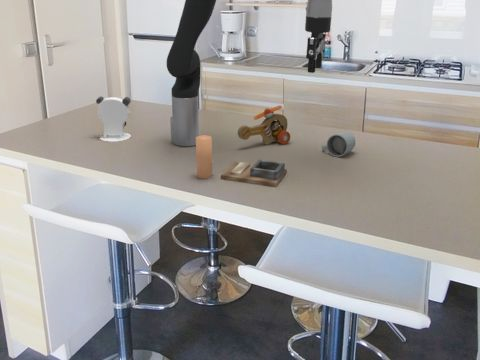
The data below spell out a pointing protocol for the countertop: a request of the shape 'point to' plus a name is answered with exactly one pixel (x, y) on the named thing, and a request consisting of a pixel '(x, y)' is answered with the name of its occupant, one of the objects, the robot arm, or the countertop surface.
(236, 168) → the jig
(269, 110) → the toy helicopter
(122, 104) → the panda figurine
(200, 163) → the cylinder
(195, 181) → the countertop surface
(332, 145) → the ceramic mug
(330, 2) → the robot arm
